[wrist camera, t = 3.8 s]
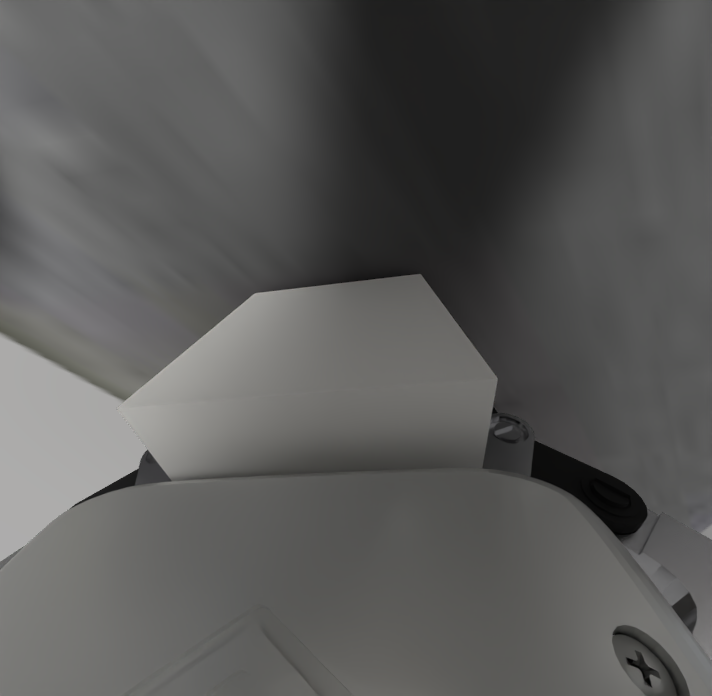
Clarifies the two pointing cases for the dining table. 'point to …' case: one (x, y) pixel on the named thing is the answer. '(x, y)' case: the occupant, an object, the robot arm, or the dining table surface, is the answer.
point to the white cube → (321, 387)
